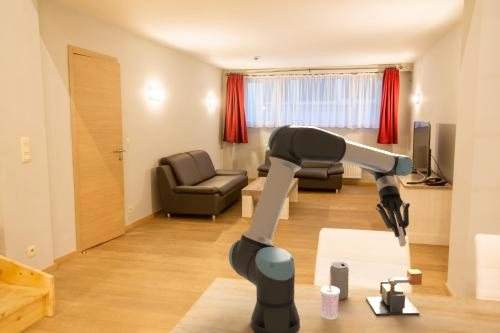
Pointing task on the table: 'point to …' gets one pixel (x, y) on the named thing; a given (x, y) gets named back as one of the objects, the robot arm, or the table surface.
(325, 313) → the beverage cup
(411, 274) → the valve lever
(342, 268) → the beverage can
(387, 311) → the valve body
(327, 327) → the table surface
